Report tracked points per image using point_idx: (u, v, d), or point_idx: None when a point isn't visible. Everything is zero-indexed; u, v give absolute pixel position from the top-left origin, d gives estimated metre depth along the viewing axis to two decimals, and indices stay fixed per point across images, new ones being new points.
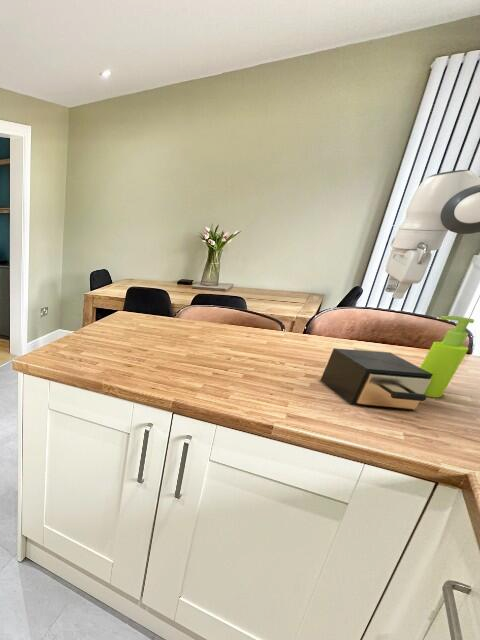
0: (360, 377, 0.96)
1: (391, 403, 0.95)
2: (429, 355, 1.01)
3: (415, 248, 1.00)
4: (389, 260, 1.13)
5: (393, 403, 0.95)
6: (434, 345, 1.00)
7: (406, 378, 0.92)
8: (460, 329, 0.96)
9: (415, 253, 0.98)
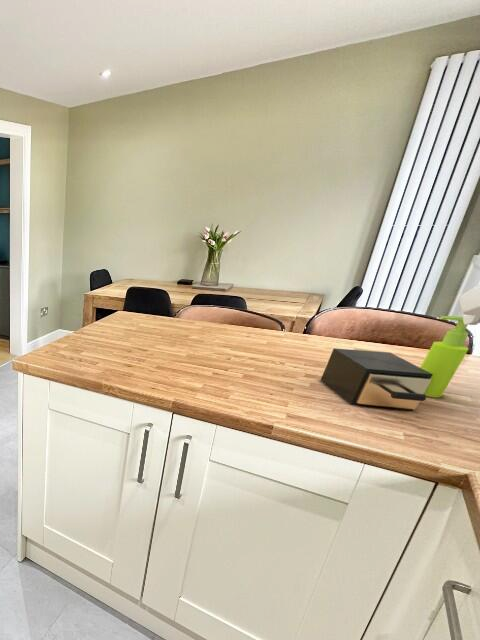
0: (360, 377, 0.96)
1: (391, 403, 0.95)
2: (429, 355, 1.01)
3: None
4: None
5: (393, 403, 0.95)
6: (434, 345, 1.00)
7: (406, 378, 0.92)
8: (460, 329, 0.96)
9: None
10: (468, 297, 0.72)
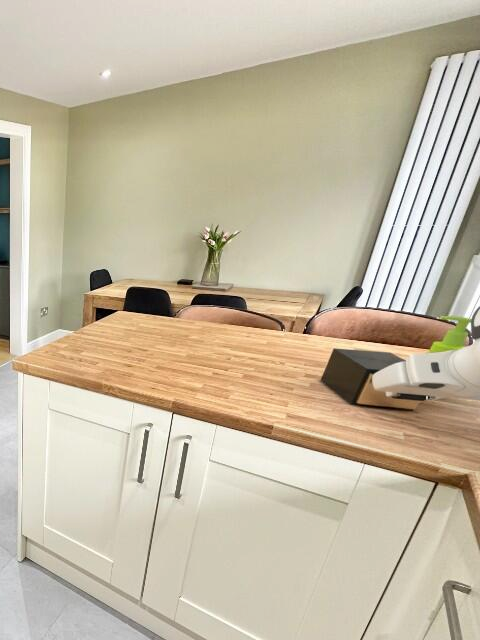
0: (360, 377, 0.96)
1: (391, 403, 0.95)
2: None
3: None
4: (391, 387, 0.84)
5: (393, 403, 0.95)
6: (434, 345, 1.00)
7: None
8: (460, 329, 0.96)
9: None
10: (377, 377, 0.86)
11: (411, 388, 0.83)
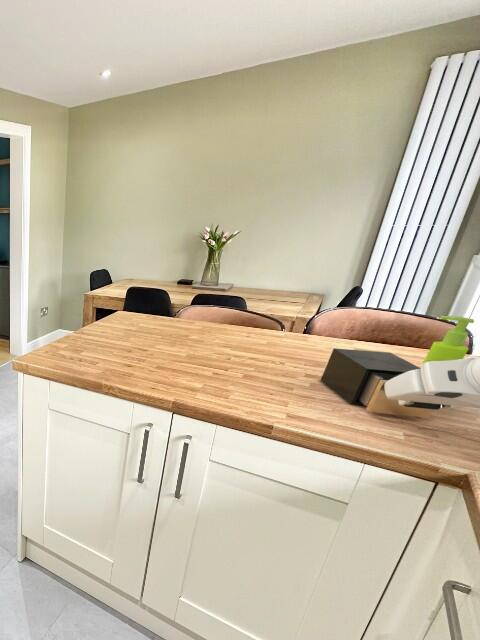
0: (360, 377, 0.96)
1: (403, 411, 0.91)
2: (429, 355, 1.01)
3: None
4: (405, 396, 0.80)
5: (405, 412, 0.91)
6: (434, 345, 1.00)
7: None
8: (460, 329, 0.96)
9: None
10: (390, 385, 0.82)
11: (426, 397, 0.79)
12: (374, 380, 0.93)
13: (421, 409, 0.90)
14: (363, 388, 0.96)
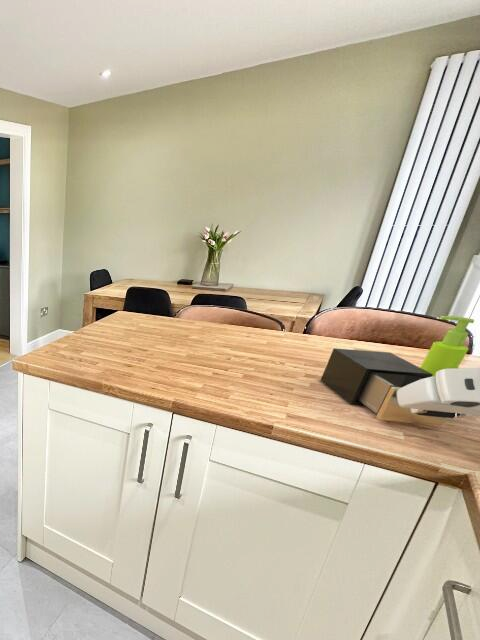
0: (360, 377, 0.96)
1: (415, 419, 0.88)
2: (429, 355, 1.01)
3: None
4: (419, 404, 0.77)
5: (417, 420, 0.88)
6: (434, 345, 1.00)
7: None
8: (460, 329, 0.96)
9: None
10: (403, 392, 0.79)
11: (441, 405, 0.76)
12: (384, 387, 0.90)
13: (434, 417, 0.87)
14: (373, 395, 0.93)
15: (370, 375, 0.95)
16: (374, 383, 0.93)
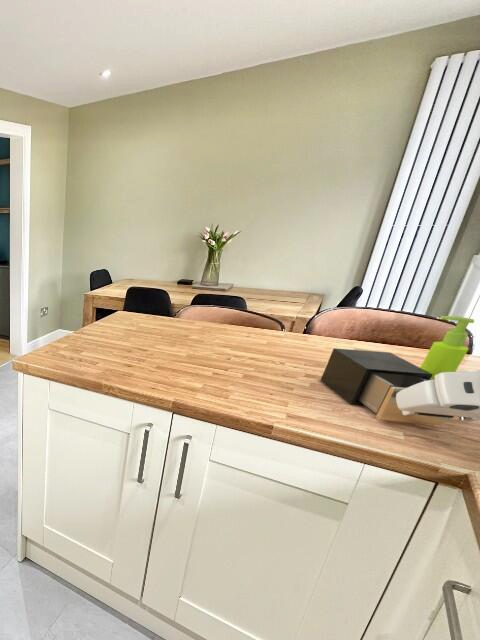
0: (360, 377, 0.96)
1: (415, 419, 0.88)
2: (429, 355, 1.01)
3: None
4: (418, 407, 0.77)
5: (417, 420, 0.88)
6: (434, 345, 1.00)
7: None
8: (460, 329, 0.96)
9: None
10: (402, 396, 0.79)
11: (440, 409, 0.76)
12: (384, 387, 0.90)
13: (433, 417, 0.87)
14: (373, 395, 0.93)
15: (369, 375, 0.95)
16: (374, 383, 0.93)
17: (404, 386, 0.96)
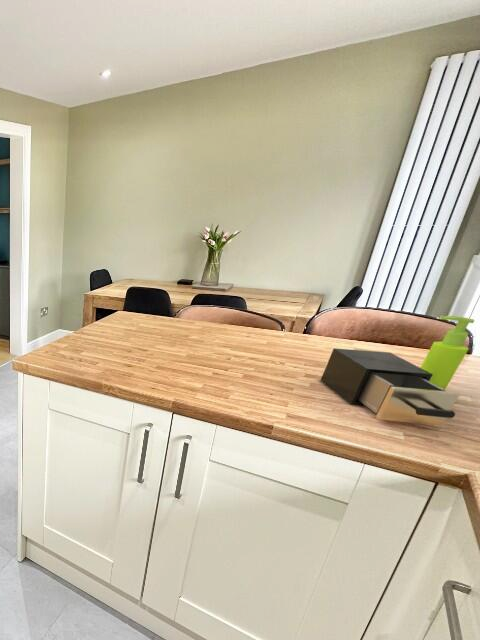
0: (360, 377, 0.96)
1: (415, 419, 0.88)
2: (429, 355, 1.01)
3: None
4: None
5: (417, 420, 0.88)
6: (434, 345, 1.00)
7: (432, 393, 0.85)
8: (460, 329, 0.96)
9: None
10: None
11: None
12: (384, 387, 0.90)
13: (433, 417, 0.87)
14: (373, 395, 0.93)
15: (369, 375, 0.95)
16: (374, 383, 0.93)
17: (404, 386, 0.96)
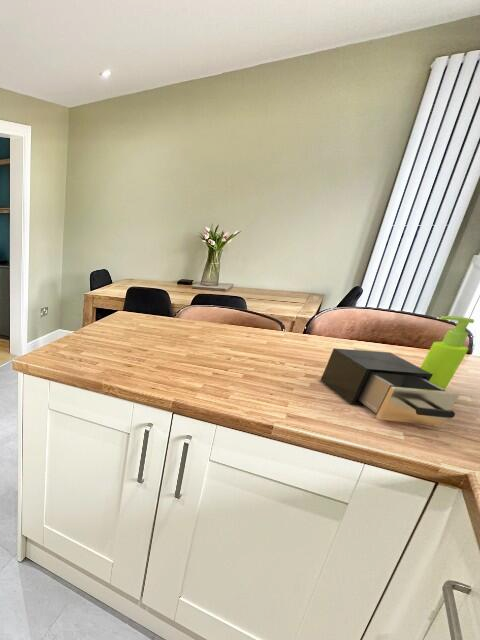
0: (360, 377, 0.96)
1: (415, 419, 0.88)
2: (429, 355, 1.01)
3: None
4: None
5: (417, 420, 0.88)
6: (434, 345, 1.00)
7: (432, 393, 0.85)
8: (460, 329, 0.96)
9: None
10: None
11: None
12: (384, 387, 0.90)
13: (433, 417, 0.87)
14: (373, 395, 0.93)
15: (369, 375, 0.95)
16: (374, 383, 0.93)
17: (404, 386, 0.96)
